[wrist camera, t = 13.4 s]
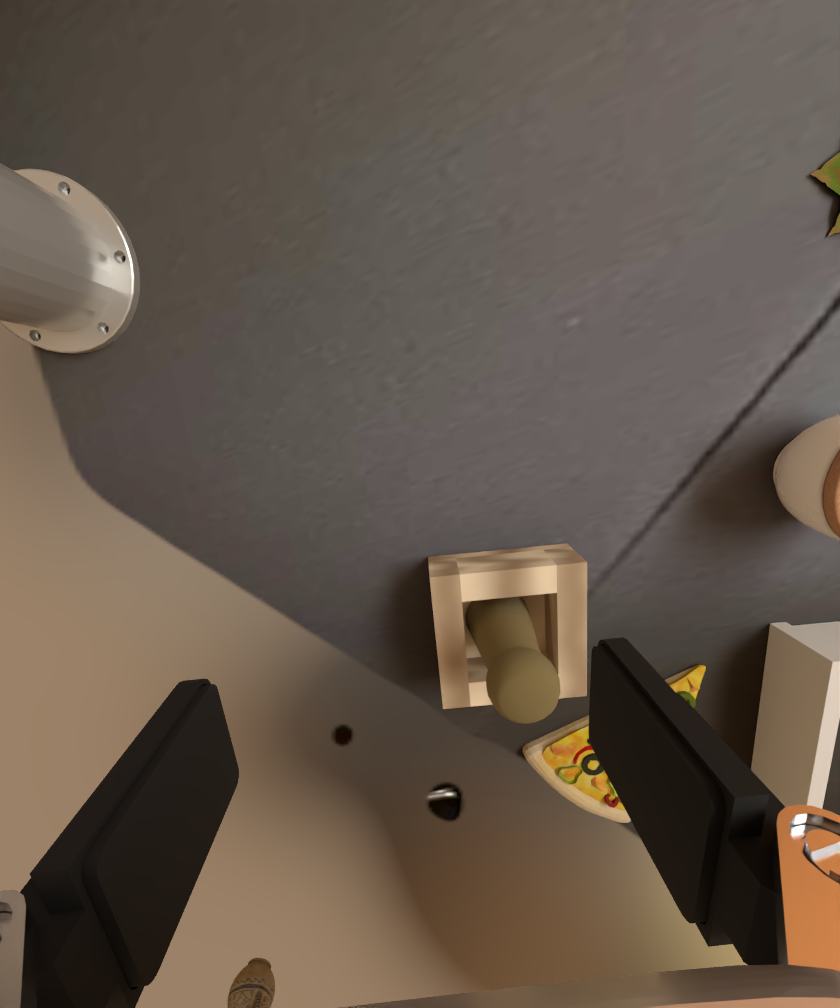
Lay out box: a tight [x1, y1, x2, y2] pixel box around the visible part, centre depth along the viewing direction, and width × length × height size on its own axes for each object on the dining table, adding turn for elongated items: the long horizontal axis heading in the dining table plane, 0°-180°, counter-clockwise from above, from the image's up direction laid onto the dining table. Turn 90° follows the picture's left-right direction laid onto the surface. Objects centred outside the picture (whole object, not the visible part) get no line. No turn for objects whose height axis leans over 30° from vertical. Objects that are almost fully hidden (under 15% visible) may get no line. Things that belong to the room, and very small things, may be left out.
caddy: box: [428, 543, 587, 709], centre depth 36 cm, size 13×13×4 cm
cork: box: [465, 596, 560, 724], centre depth 32 cm, size 6×6×11 cm
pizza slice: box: [523, 665, 706, 823], centre depth 41 cm, size 16×21×3 cm
